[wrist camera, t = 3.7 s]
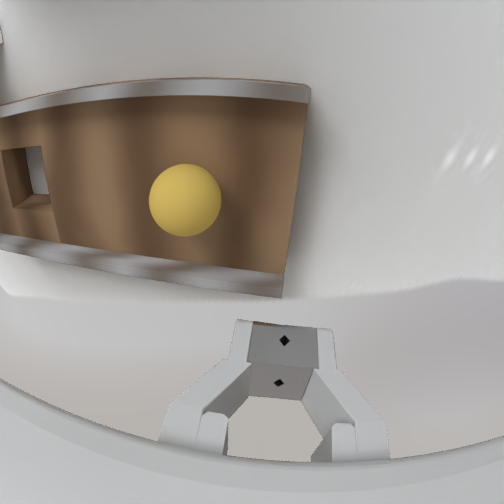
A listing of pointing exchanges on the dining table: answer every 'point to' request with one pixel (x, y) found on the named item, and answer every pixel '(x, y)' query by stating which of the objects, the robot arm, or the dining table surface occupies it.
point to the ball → (185, 200)
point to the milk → (1, 38)
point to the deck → (146, 172)
